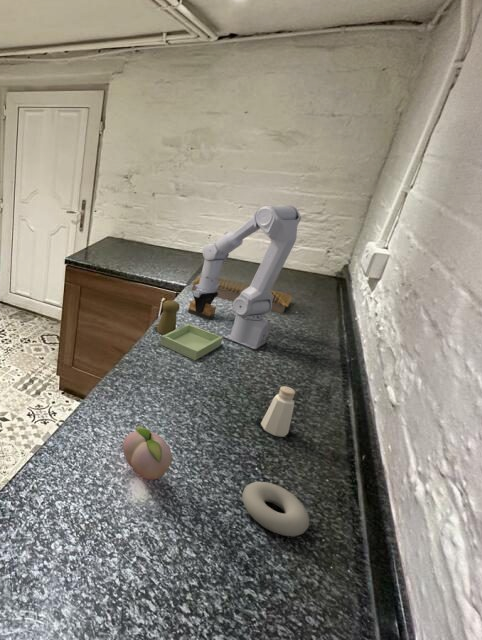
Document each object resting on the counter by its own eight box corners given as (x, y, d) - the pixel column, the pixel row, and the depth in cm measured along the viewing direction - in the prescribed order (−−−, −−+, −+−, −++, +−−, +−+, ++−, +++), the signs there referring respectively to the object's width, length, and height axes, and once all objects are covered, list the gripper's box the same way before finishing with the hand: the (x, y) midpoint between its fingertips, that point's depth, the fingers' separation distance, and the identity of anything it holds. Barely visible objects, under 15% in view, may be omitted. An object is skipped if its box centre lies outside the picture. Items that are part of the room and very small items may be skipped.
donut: (277, 489, 76) (228, 491, 75) (282, 476, 75) (233, 478, 74) (320, 539, 67) (265, 542, 66) (327, 525, 65) (271, 528, 64)
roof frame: (290, 303, 160) (295, 289, 158) (285, 314, 150) (290, 300, 148) (199, 281, 182) (202, 269, 179) (189, 290, 172) (192, 276, 169)
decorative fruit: (176, 487, 76) (187, 446, 72) (139, 497, 73) (148, 455, 70) (146, 451, 84) (154, 413, 80) (112, 459, 82) (119, 420, 78)
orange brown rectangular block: (213, 317, 146) (216, 306, 145) (208, 320, 144) (211, 308, 143) (192, 310, 152) (195, 299, 151) (187, 312, 150) (190, 301, 149)
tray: (220, 345, 127) (222, 337, 126) (195, 360, 118) (197, 351, 117) (186, 331, 136) (188, 323, 134) (160, 344, 127) (162, 335, 126)
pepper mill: (177, 336, 132) (183, 306, 128) (158, 334, 133) (164, 304, 129) (173, 328, 138) (179, 299, 133) (155, 326, 139) (160, 297, 135)
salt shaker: (288, 440, 88) (304, 400, 84) (260, 431, 91) (273, 391, 86) (287, 426, 92) (302, 387, 88) (260, 417, 95) (273, 379, 91)
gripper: (209, 269, 150) (201, 302, 155) (188, 276, 141) (181, 311, 146) (228, 275, 144) (219, 308, 149) (207, 282, 136) (199, 318, 141)
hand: (201, 310), depth 148 cm, fingers closed on orange brown rectangular block, 3 cm apart
